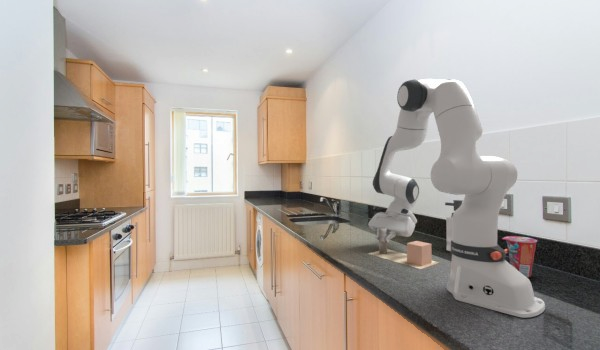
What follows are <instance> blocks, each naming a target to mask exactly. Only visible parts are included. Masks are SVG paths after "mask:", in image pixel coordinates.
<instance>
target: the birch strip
mask: <svg viewBox="0 0 600 350" xmlns="http://www.w3.org/2000/svg"><path fill="white" fill-rule="evenodd" d="M385 236H388V233H387V229H386V228H379V240H378V248H379V249H378V250H376V251H373V252H369V253H367V255H371V256H375V257H377V258H381V259H384V260H389V261H391V262H395V263H398V264H401V265H404V266H405V265H406V266H409V267H412V268H415V269H418V270H422V269H425V268H429V267H431V266H434V265H437V264H440V263H441V262H439V261H434V260H432V263H431V264H428V265H424V266H419V265H415V264H412V263H408V262H407V253H405V252H404V253H403V252H400V251H397V250H392V249H388V248H387V247H388V242H386V241H385V240H384V238H385Z"/></svg>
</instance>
